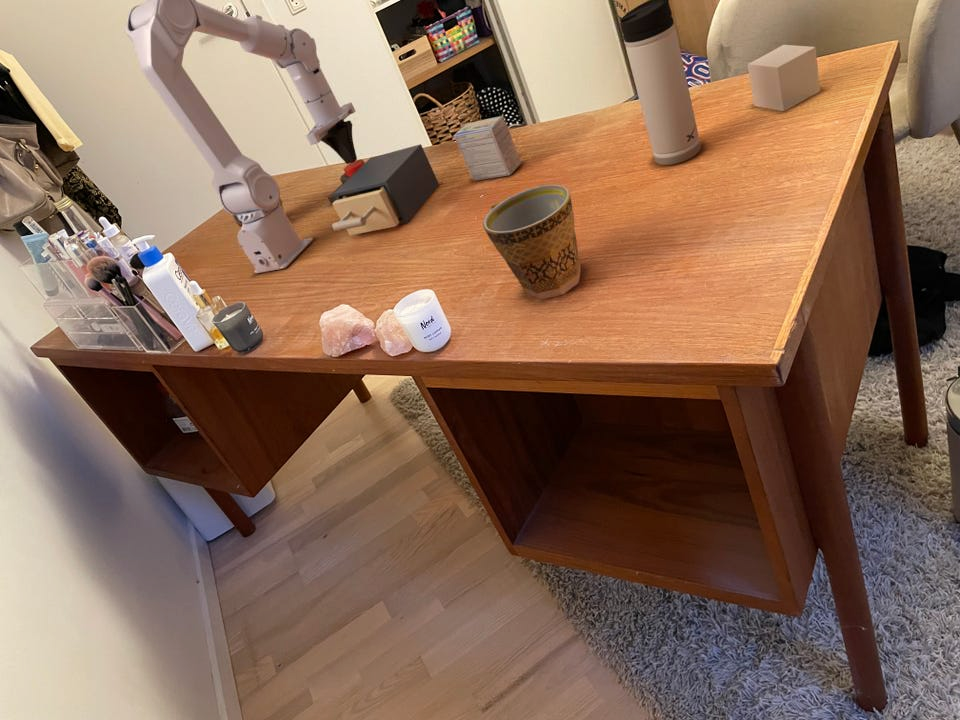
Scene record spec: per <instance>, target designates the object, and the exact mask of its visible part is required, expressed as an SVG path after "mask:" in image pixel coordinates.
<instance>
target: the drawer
mask: <svg viewBox="0 0 960 720" xmlns="http://www.w3.org/2000/svg"><path fill="white" fill-rule="evenodd" d="M331 206H333V208H334V210H335V212H336V214H337V215H338V217H339V219H340V220H339V221H335V222H333V223H332V229H333V231H334V232H340V231H343V230H346V232H347V233H348V235H349V236H354V235H359V234H363V233H369V232H370V233H371V232H374V231H380V230H383V229H384V230H385V229H389V228H394V227H397V226H399V225H398V224H399V221H398V219H397V218H400V214H399V212H398V210H397V208H396V206H395V204H394V202H393V200H392V198H391V196H390V194H389V193H388V191H387V189H386V187H385V185H384V186H379V187H375V188H371V189H367V190H363V191H359V192H355V193H350V194H346V195H344V196H343V199H340V200H336V201H335V202H333V203H332V205H331Z"/></svg>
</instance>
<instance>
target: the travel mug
mask: <svg viewBox="0 0 960 720" xmlns="http://www.w3.org/2000/svg"><path fill="white" fill-rule="evenodd" d="M672 15H673V13H672V9H671V6H670V2H669V0H646V1H645V2H643V3H641V4H638V5H637V6H636V7H634V8H632V9H630V10H629V11H628V12H627V13H626V14H624V15H623V16H622V17H621V19H620V23H619V24H620V29H621V32H622V34H623V36H622V37H623V42H624V46H625V49H626V53H627V58H628V62H629V66H630V70H631V74H632V78H633V81H634V85H635V89H636V92H637V96H638V100H639V104H640V108H641V112H642V115H643V119H644V124H645V127H646V131H647V135H648V139H649V144H650V147H651V151H652V154H653V159H654V162H655V163H656V164H658V165H661V166H673V165H677V164H681V163H683V162H687V161H689V160H691V159H692V158H693V157H695V156H696V155H697V154H698V153H699V152H700V151H701V149H702V145H701V139H700V137H699V131H698V125H697V121H696V116H695V112H694V108H693V103H692V99H691V98H692V97H691V94H690V88H689V85H688V79H687V75H686V70H685V66H684V62H683V55H682V52H681V46H680V43H679V37H678V34H677V29H676V28H675V27H676V24H675V22H674V17H673V16H672Z"/></svg>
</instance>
